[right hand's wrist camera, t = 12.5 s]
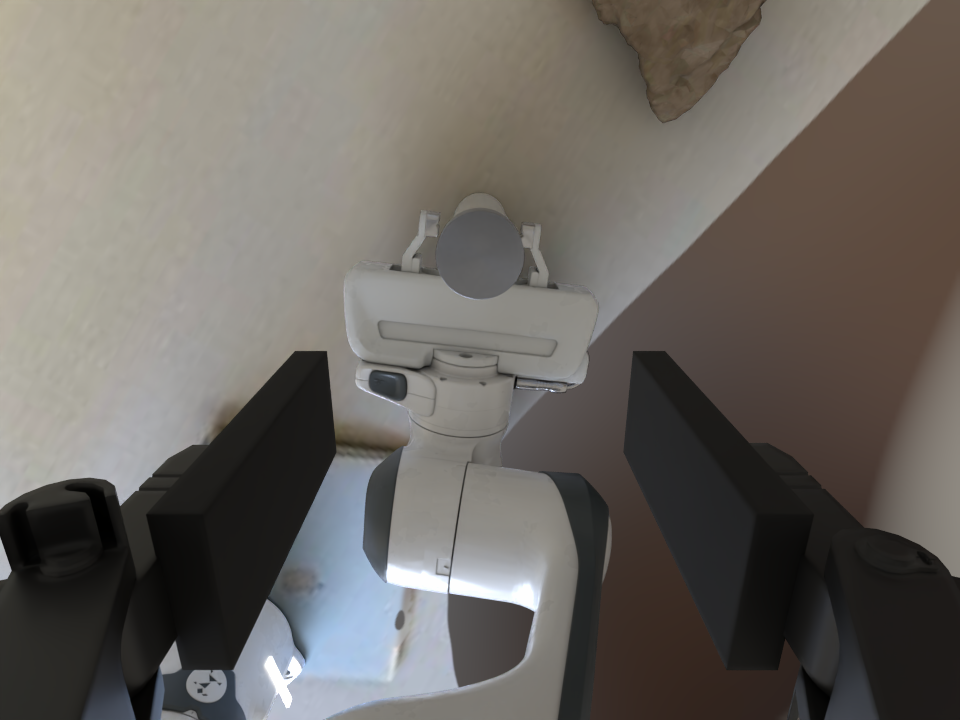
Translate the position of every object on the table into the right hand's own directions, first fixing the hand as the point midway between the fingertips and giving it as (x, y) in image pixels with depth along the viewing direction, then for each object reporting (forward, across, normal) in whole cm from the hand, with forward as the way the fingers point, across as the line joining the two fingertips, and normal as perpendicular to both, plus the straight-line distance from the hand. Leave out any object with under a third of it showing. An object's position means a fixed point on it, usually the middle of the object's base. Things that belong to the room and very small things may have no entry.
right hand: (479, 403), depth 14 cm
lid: (+21, 0, 0) cm, 21 cm away
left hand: (+33, 0, -1) cm, 33 cm away
